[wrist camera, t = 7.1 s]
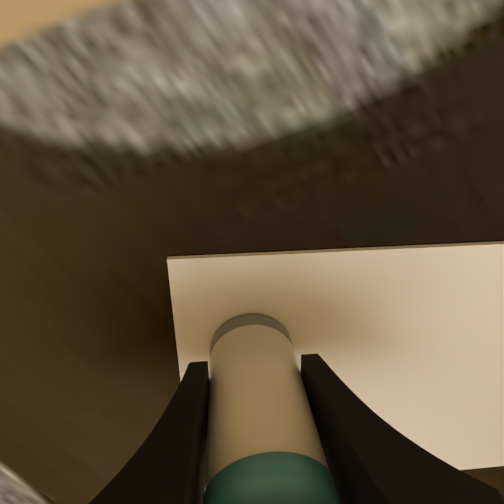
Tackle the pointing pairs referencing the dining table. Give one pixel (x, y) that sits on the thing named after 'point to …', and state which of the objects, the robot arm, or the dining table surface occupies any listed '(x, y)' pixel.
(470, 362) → the paper
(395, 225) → the dining table surface
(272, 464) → the green lidded jar
